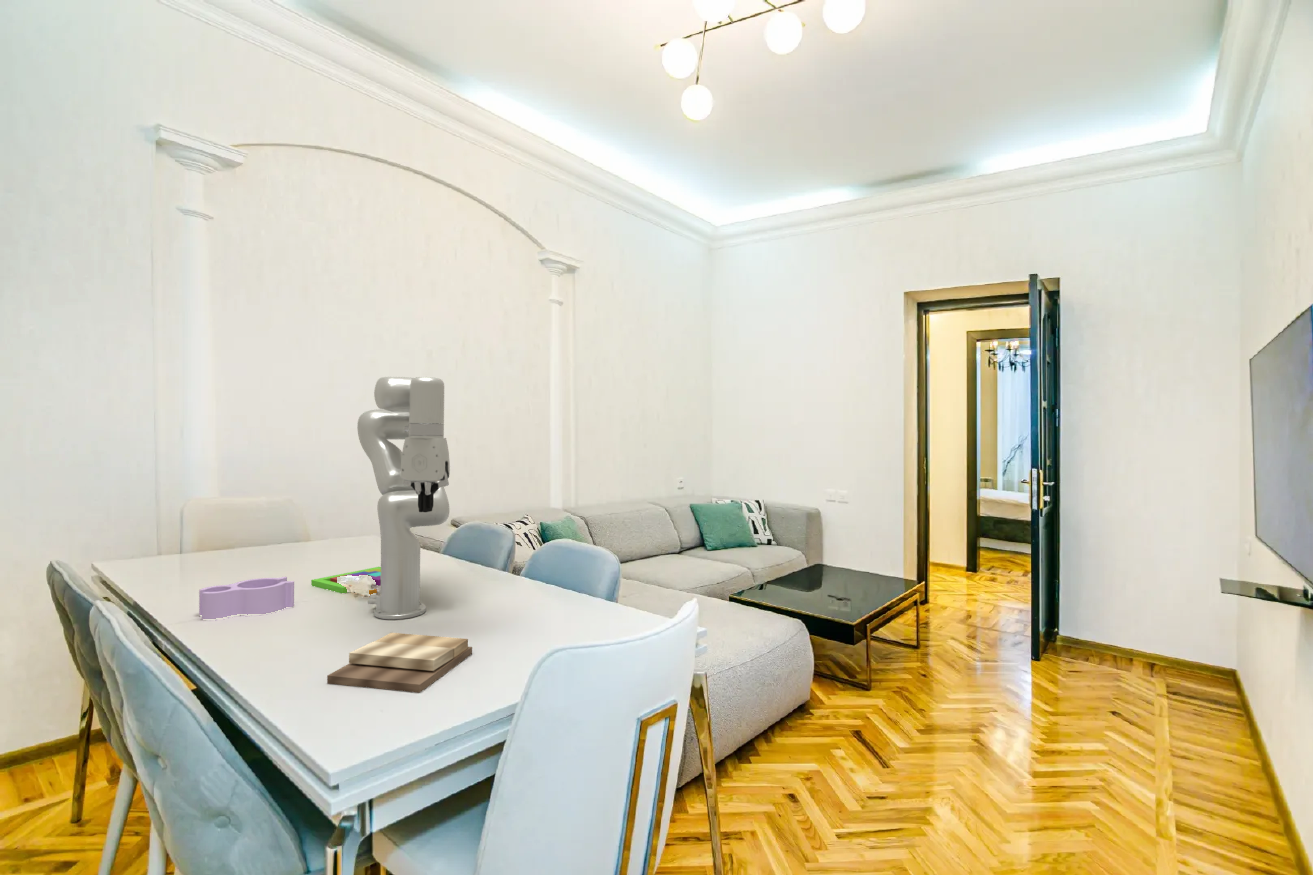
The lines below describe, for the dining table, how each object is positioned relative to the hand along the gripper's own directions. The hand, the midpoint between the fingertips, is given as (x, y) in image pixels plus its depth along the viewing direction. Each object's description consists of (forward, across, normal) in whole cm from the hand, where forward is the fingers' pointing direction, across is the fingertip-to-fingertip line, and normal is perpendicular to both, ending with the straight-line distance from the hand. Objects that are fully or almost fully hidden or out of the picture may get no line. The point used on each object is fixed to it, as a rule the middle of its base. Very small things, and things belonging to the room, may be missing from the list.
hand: (425, 511), depth 151 cm
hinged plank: (+27, +6, -19) cm, 34 cm away
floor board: (+29, +6, -18) cm, 35 cm away
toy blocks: (+30, -41, +41) cm, 65 cm away
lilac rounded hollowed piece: (+30, -54, +8) cm, 62 cm away
